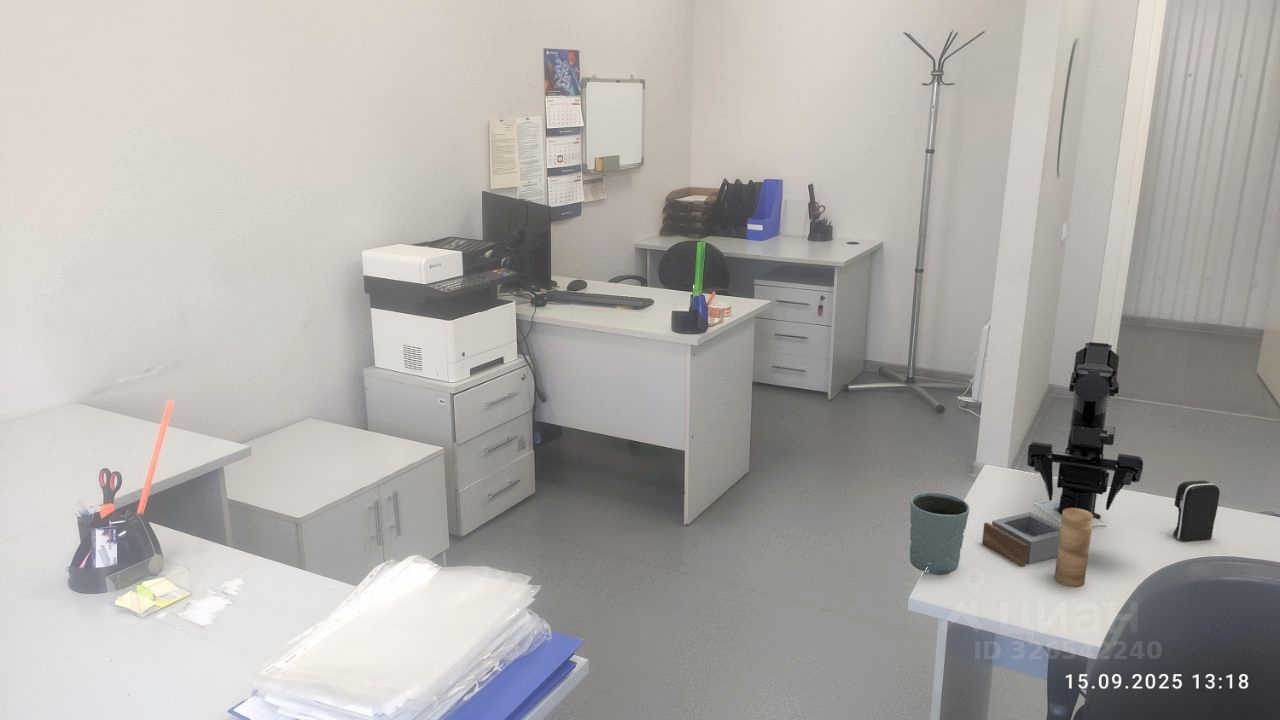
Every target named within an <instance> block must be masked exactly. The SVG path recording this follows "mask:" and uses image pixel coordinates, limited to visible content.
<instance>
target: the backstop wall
mask: <svg viewBox="0 0 1280 720" xmlns="http://www.w3.org/2000/svg"><path fill="white" fill-rule="evenodd" d="M981 544H982V545H983V546H985V547H987V548H989V549H990V550H992V551H994V552H995V553H997V554H998V555H999V554H1000V556H1002V557H1004V558H1006V559H1007V560H1009V561H1011V562H1013V563H1015V564H1017V565H1018V566H1020V567H1022V568H1024V567H1026V566H1027V563H1026V558H1027V549H1028V544H1026V543H1024V542H1022V541H1021V540H1019V539H1017V538H1015V537H1013V536H1011V535H1010V534H1008V533H1006V532H1004V531H1002V530H1000V529H999V528H997V527H995V526H993V525H992V523H989V522H983V532H982V543H981Z"/></svg>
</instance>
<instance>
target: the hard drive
mask: <svg viewBox="0 0 1280 720" xmlns="http://www.w3.org/2000/svg"><path fill="white" fill-rule="evenodd" d="M1032 504H1033V505H1034V506H1036V507H1037V508H1038V509H1039V510H1040V511H1042V512H1043V513H1045V514H1046V515H1047V516H1049V517H1051V518H1052V519H1053V520H1054V521H1056V522H1057V523H1059V524H1060V525H1061V520H1062V514H1060V513H1059V512H1057V511H1055V510H1057V509H1055V508H1059V506H1060V499H1054V500H1053V499H1052V501H1050V500H1042V501H1035V502H1033V503H1032ZM1054 509H1055V510H1054ZM1102 527H1104V528H1107V524H1104V523H1103V522H1102V521H1100V520H1099V519H1096V518H1093V522H1092V528H1102Z"/></svg>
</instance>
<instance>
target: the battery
mask: <svg viewBox="0 0 1280 720" xmlns="http://www.w3.org/2000/svg"><path fill="white" fill-rule="evenodd" d="M1176 489H1177V490H1176V493H1175V499H1174V506H1175V507H1176V508H1178V509H1177V511H1178V514H1177V515H1178V517H1177V523H1176V524H1177V525H1176V528H1175V529H1174V531H1173V536H1174V537H1176V539H1178V540H1179V541H1183V542H1184V541H1185V542H1186V541H1201V540H1208V539H1212V538H1213V530H1214V525H1215V521H1216V516H1217V512H1218V506H1219V500H1220V492H1221V491H1220V488H1219V487H1218V486H1217V485H1216V484H1214V483H1211V482H1210V481H1206V480H1191V481H1184V482H1182V483H1180V484H1179V485H1178V487H1177V488H1176Z"/></svg>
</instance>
